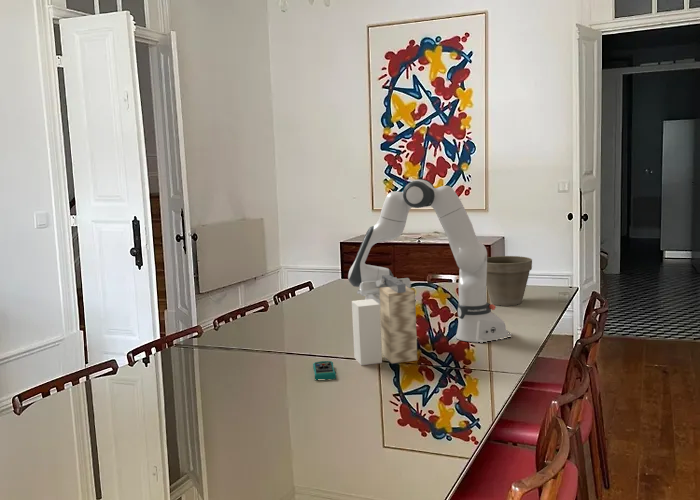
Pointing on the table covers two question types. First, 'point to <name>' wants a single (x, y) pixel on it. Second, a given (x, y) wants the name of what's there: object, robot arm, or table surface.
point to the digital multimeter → (324, 370)
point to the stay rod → (394, 284)
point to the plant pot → (507, 279)
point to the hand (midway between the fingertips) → (389, 279)
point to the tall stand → (398, 325)
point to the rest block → (366, 331)
